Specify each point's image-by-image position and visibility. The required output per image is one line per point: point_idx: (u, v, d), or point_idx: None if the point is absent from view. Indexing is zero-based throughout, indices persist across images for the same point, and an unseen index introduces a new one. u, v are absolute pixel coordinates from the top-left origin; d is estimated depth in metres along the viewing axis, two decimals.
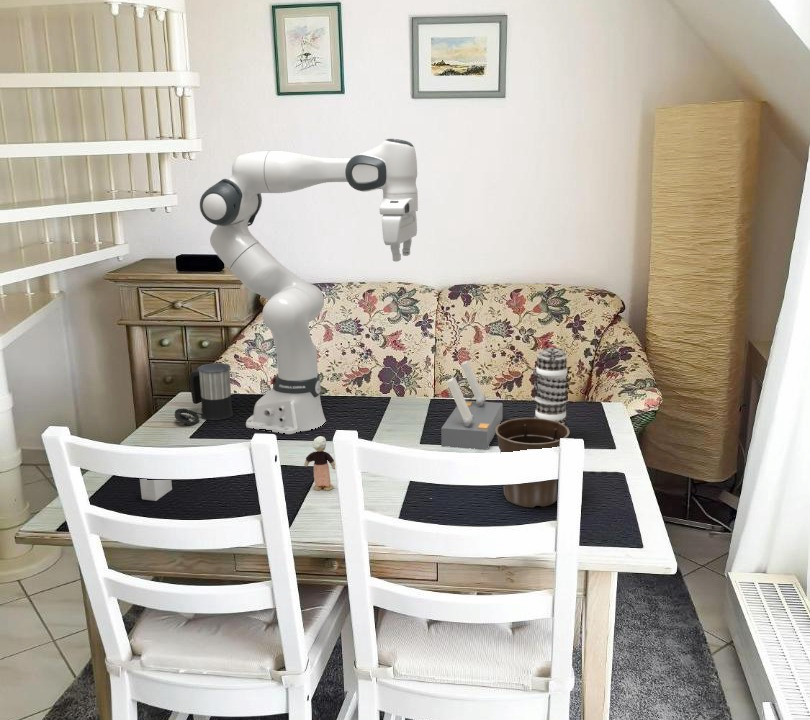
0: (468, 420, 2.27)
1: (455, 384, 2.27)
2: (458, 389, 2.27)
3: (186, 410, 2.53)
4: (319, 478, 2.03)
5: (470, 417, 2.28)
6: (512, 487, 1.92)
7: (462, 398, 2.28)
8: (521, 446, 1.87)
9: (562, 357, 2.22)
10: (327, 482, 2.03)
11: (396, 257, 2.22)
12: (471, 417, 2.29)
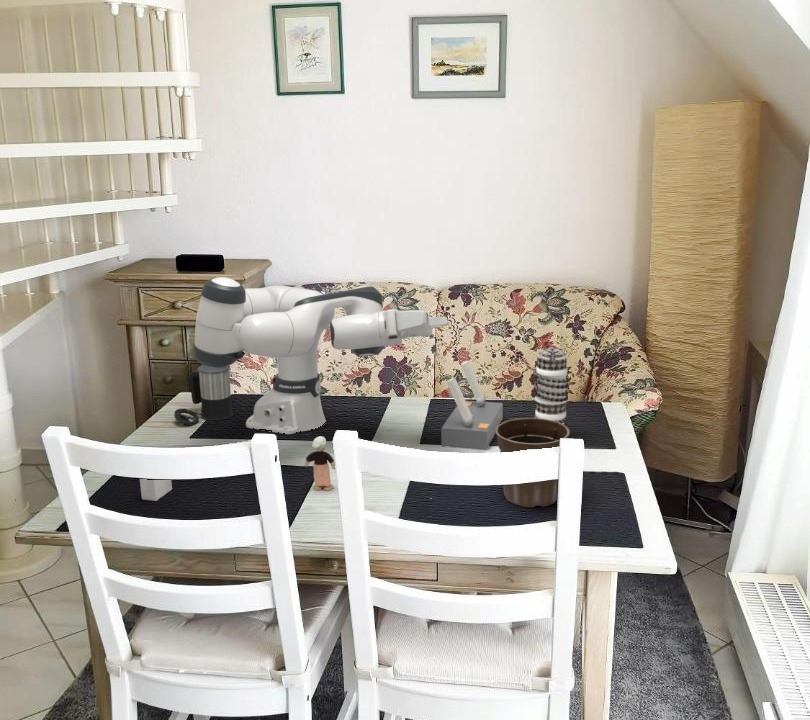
0: (468, 420, 2.27)
1: (455, 384, 2.27)
2: (458, 389, 2.27)
3: (186, 410, 2.53)
4: (319, 478, 2.03)
5: (470, 417, 2.28)
6: (512, 487, 1.92)
7: (462, 398, 2.28)
8: (521, 446, 1.87)
9: (562, 357, 2.22)
10: (327, 482, 2.03)
11: (442, 319, 2.17)
12: (471, 417, 2.29)
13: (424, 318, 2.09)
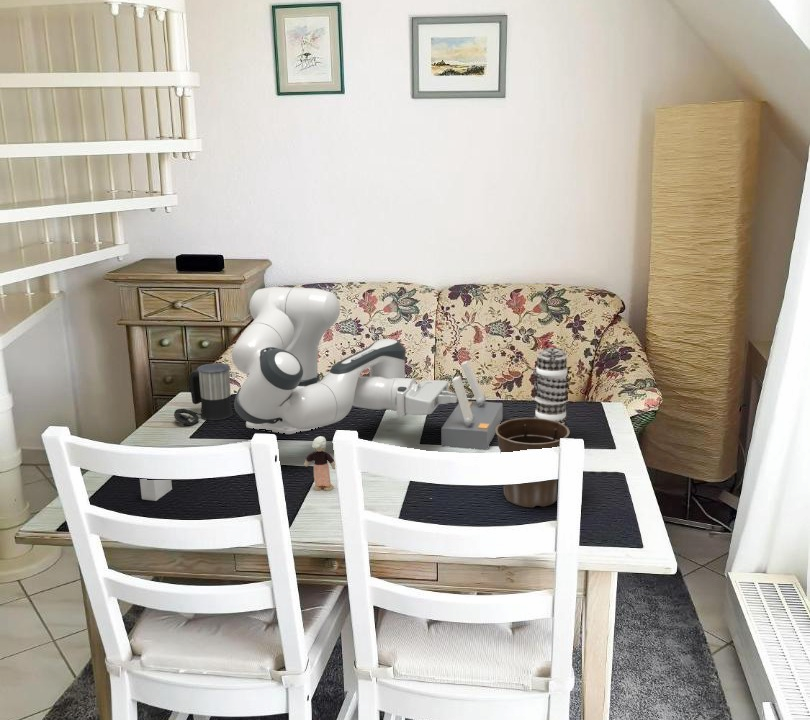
0: (469, 420, 2.27)
1: (460, 383, 2.26)
2: (462, 388, 2.27)
3: (186, 410, 2.53)
4: (319, 478, 2.03)
5: (471, 417, 2.28)
6: (512, 487, 1.92)
7: (465, 397, 2.28)
8: (521, 446, 1.87)
9: (562, 357, 2.22)
10: (327, 482, 2.03)
11: (452, 398, 2.26)
12: (472, 417, 2.28)
13: (429, 408, 2.20)
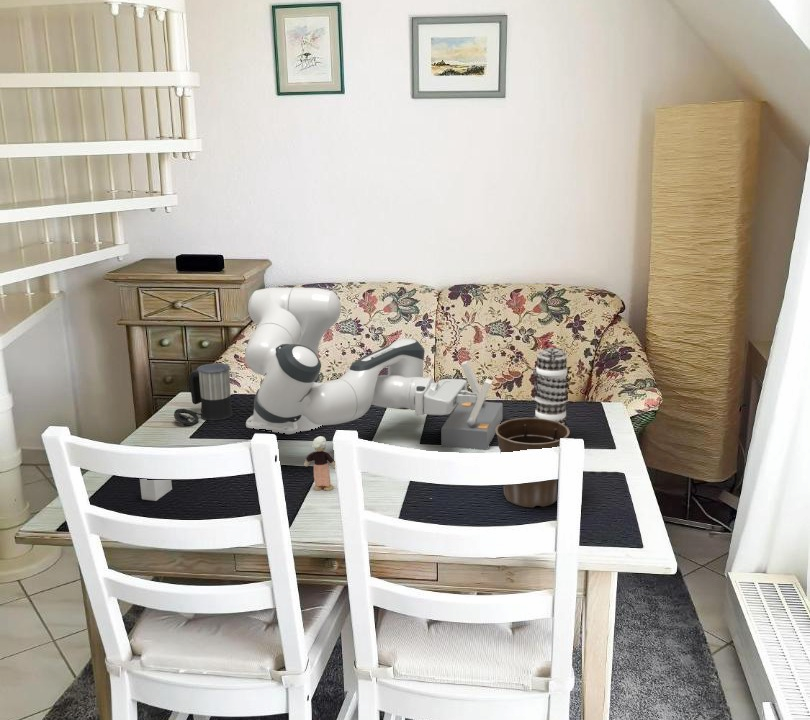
0: (473, 422, 2.26)
1: (488, 388, 2.25)
2: None
3: (186, 410, 2.53)
4: (319, 478, 2.03)
5: (475, 420, 2.28)
6: (512, 487, 1.92)
7: (483, 401, 2.27)
8: (521, 446, 1.87)
9: (562, 357, 2.22)
10: (327, 482, 2.03)
11: (471, 398, 2.25)
12: (475, 420, 2.28)
13: (448, 408, 2.19)
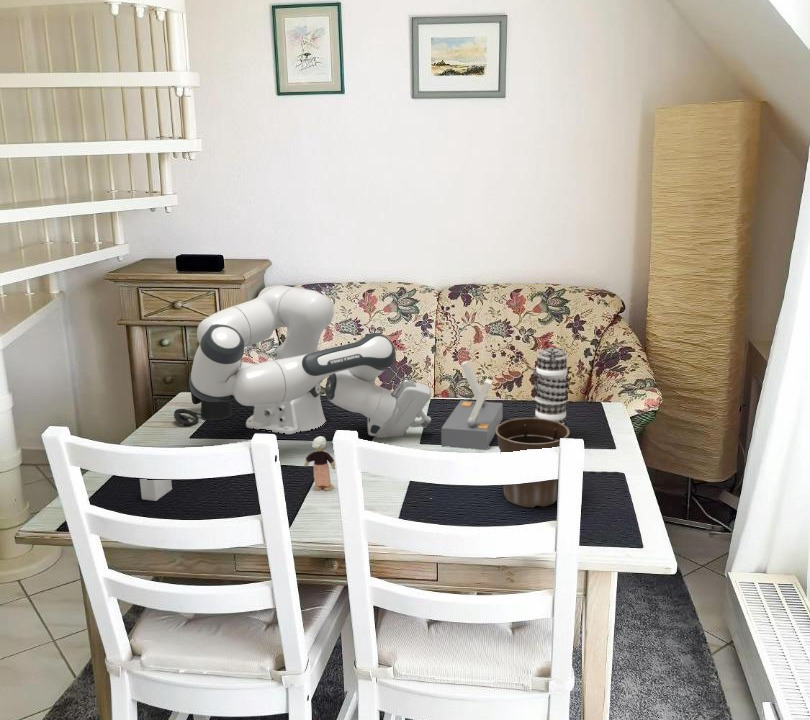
0: (473, 422, 2.26)
1: (488, 388, 2.25)
2: None
3: (185, 410, 2.53)
4: (319, 478, 2.03)
5: (475, 420, 2.28)
6: (512, 487, 1.92)
7: (483, 401, 2.27)
8: (521, 446, 1.87)
9: (562, 357, 2.22)
10: (327, 482, 2.03)
11: None
12: (475, 420, 2.28)
13: None
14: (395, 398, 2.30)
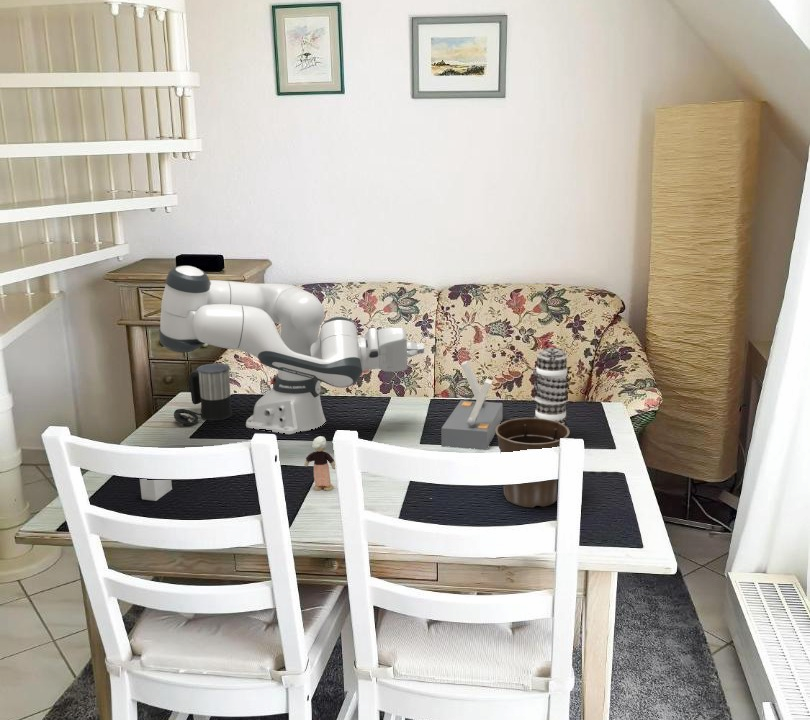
0: (473, 422, 2.26)
1: (488, 388, 2.25)
2: None
3: (185, 410, 2.53)
4: (319, 478, 2.03)
5: (475, 420, 2.28)
6: (512, 487, 1.92)
7: (483, 401, 2.27)
8: (521, 446, 1.87)
9: (562, 357, 2.22)
10: (327, 482, 2.03)
11: (419, 345, 2.32)
12: (475, 420, 2.28)
13: (404, 334, 2.24)
14: None
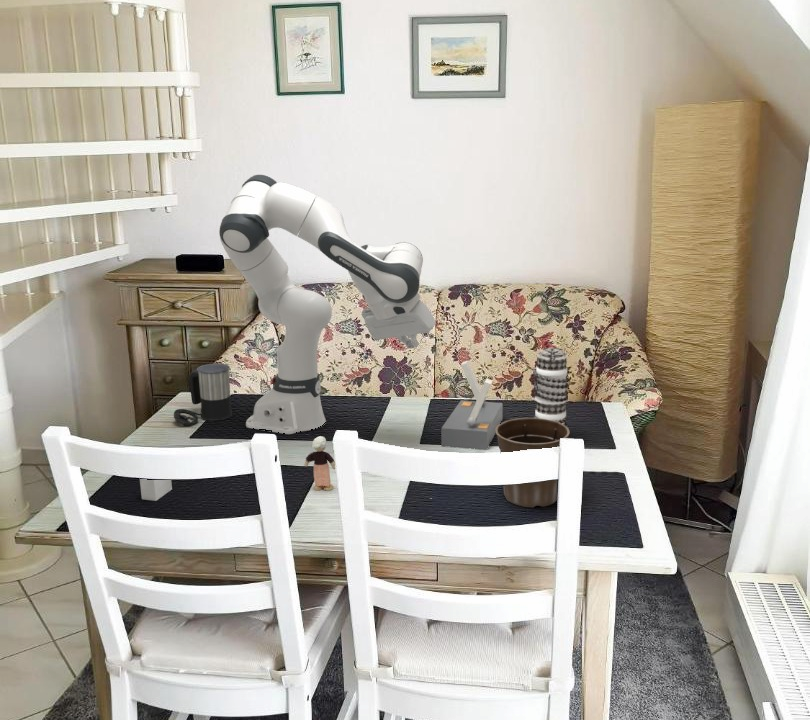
0: (473, 422, 2.26)
1: (488, 388, 2.25)
2: None
3: (185, 410, 2.53)
4: (319, 478, 2.03)
5: (475, 420, 2.28)
6: (512, 487, 1.92)
7: (483, 401, 2.27)
8: (521, 446, 1.87)
9: (562, 357, 2.22)
10: (327, 482, 2.03)
11: (416, 342, 2.27)
12: (475, 420, 2.28)
13: (432, 327, 2.19)
14: None
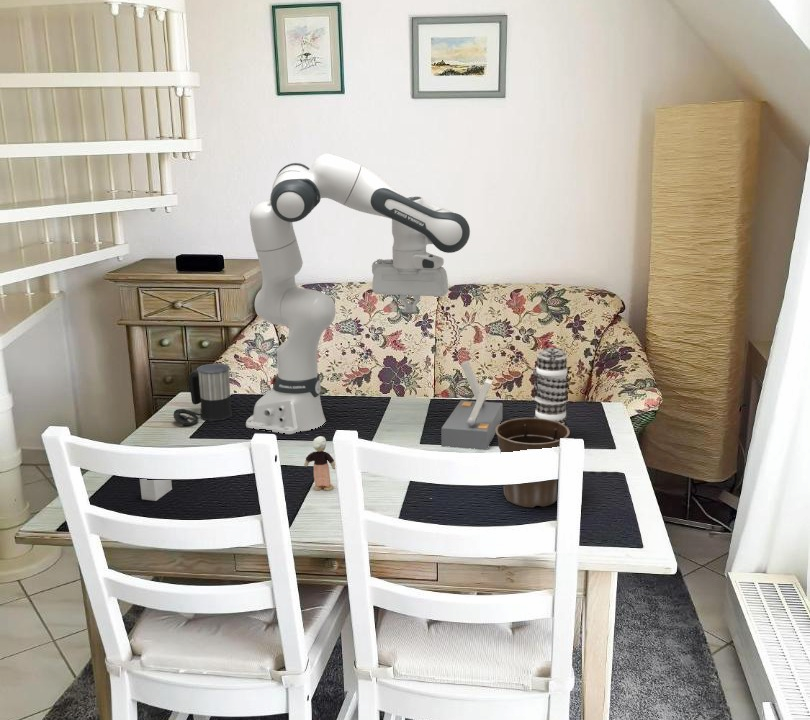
0: (473, 422, 2.26)
1: (488, 388, 2.25)
2: None
3: (185, 410, 2.53)
4: (319, 478, 2.03)
5: (475, 420, 2.28)
6: (512, 487, 1.92)
7: (483, 401, 2.27)
8: (521, 446, 1.87)
9: (562, 357, 2.22)
10: (327, 482, 2.03)
11: (415, 307, 2.33)
12: (475, 420, 2.28)
13: (445, 294, 2.30)
14: None
